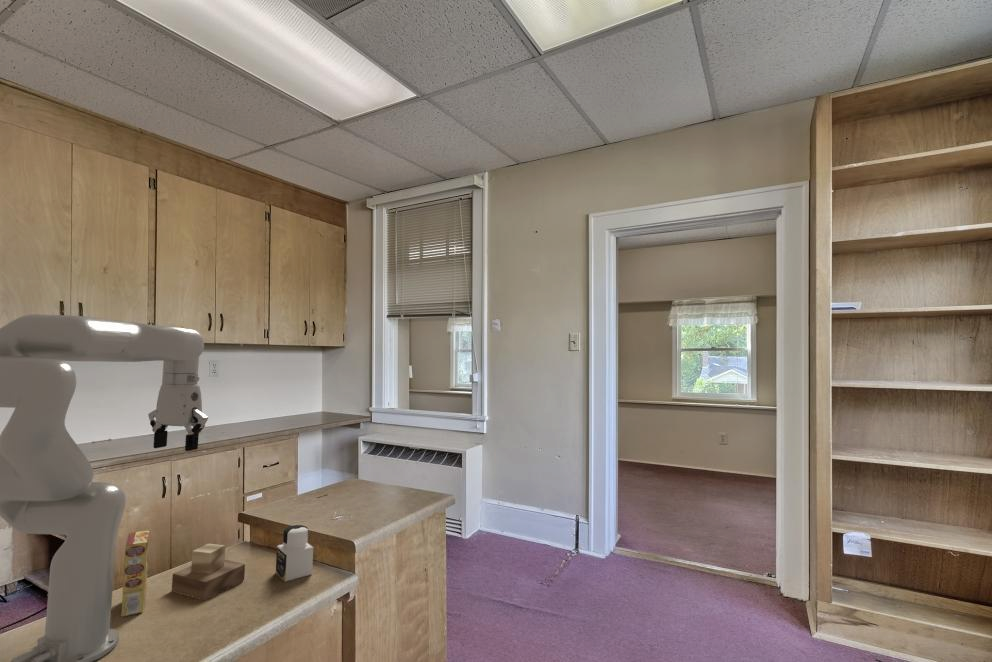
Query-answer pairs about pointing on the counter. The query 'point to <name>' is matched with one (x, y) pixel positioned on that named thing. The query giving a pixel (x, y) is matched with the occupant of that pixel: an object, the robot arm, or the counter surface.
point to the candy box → (135, 573)
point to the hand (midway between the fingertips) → (175, 448)
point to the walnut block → (208, 580)
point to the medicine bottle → (294, 554)
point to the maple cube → (208, 558)
